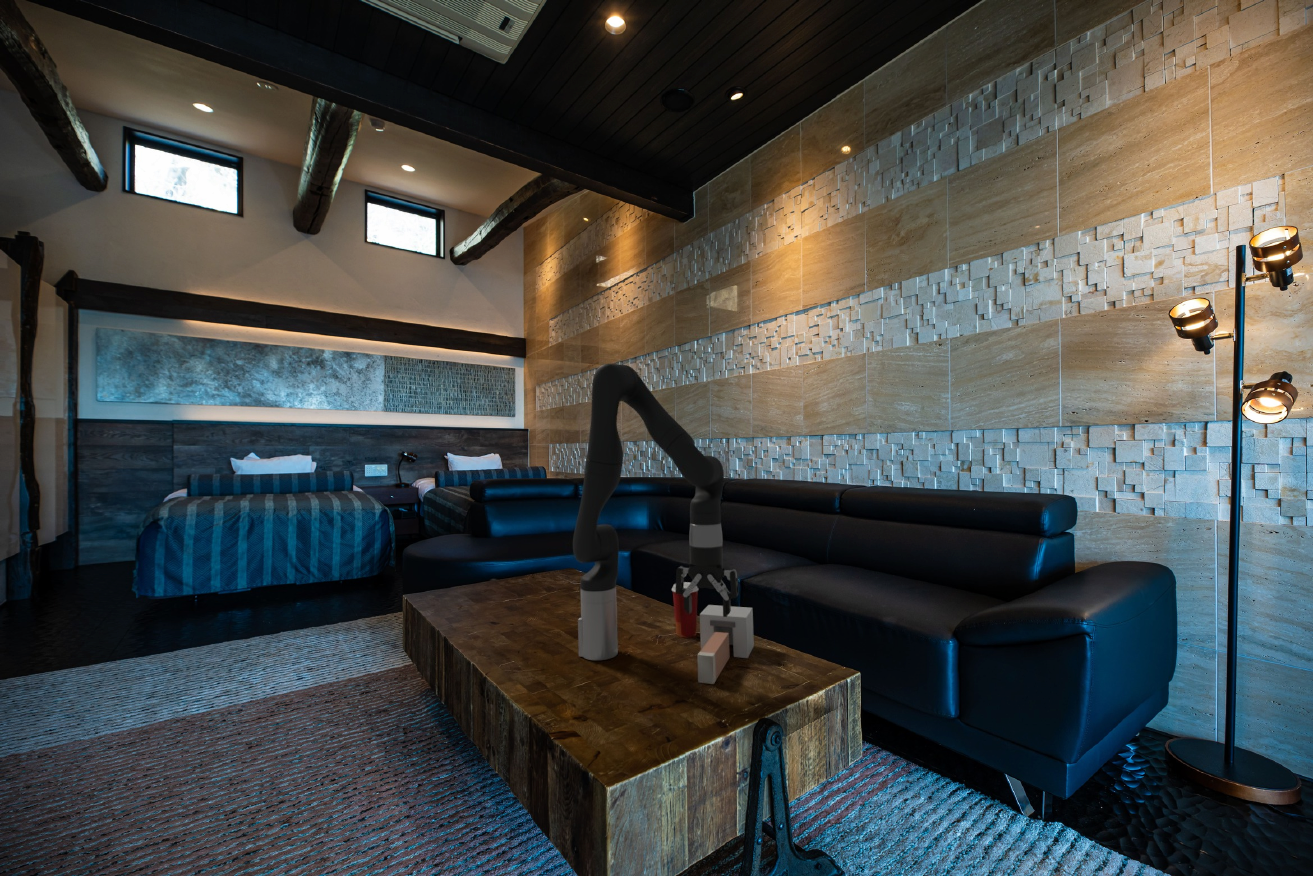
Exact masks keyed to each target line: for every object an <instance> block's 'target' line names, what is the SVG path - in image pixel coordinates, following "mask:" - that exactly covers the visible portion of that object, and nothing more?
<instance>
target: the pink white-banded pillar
mask: <svg viewBox="0 0 1313 876" xmlns="http://www.w3.org/2000/svg"><path fill="white" fill-rule="evenodd" d="M696 657H697V680H698V681H697V683H702V684H708V685H709V684H710V685H714V684H715V682H716V681H717V679H718V677H719V676H720V674H721V673H722V671H723V669H724V668H725V666H726V664H727V662H728V661H729V659H730V645H729V633H723V632H715V633H714V634H713V635H712V637H711V638H710V639H709V640H708V642H707V643H706V644H705V646H704V647H703V648H702V650H701V649H700V651H699V652H698V653H697V656H696Z"/></svg>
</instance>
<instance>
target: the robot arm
mask: <svg viewBox="0 0 1313 876" xmlns="http://www.w3.org/2000/svg"><path fill="white" fill-rule="evenodd" d="M592 378H593V379H592V383H591V384H592V385H591V412H590V413H591V414H590V416H591V417H590V427H589V438H588V445H587V451H586V459H585V468H584V473H583V474H584V478H583V486H582V492H581V499H580V503H579V504H580V505H579V509H578V515H577V517H576V518H577V519H576V523H575V527H574V531H573V532H574V533H573V538H572V552H573V555H574V558H575V559H576V561H577V562H579V563H581V564H589V563H594V565H593V567H592V568H591V569H590V570H589V571H587V572H586V573H585V574H583V575H582V576H581V577H580V583H579V584H580V617H579V618H578V619H577V630H578V631H577V632H578V635H577V636H578V657H582V658H584V659H586V660H589V661H606V660H609V659H612V658H615V657H616V656H617V655H618V653H619V651H618V649H619V647H618V646H619V644H618V609H617V608H618V606H617V579H618V575H619V553H620V552H619V551H620V550H619V549H620V545H619V536H618V533H617V531H616V529H615V528H614V526H612V525H611V524H606V523H605V524H598V522H599V518H600V515H601V512H602V510H603V508H604V506H605V505H606V503H607V502H608V500H609V499H610V498H611V496H612V495H613V493H614V492H615V490H616V489H617V487H618V486H619V483H620V480H621V476H622V470H623V469H622V468H623V461H624V450H623V444H622V442H621V438H620V436H619V431H618V422H617V421H618V412H619V408H620V402H623V403H625V404H626V405H628V406H629V407H631V409H633V410H634V411H635V412H636V413H637V414H638V415H639V417H640V418H641V420H642V422H643V423H644V425H645V427H646V430H647V432H648V434H649V435H650V437H651V439H652V440H653V441H654V443H656V445H657V446H658V447H659V448H660V449H661V450H662V451H663V452H664V453H665V454H666V455H667V456H668V457H669V458H671V460H672V462H673V464H674V465H675V467H676V468H677V470H678V471H679V472H680V474H681V475H682V477H683V478H684V479H685V480H686V481H687V482H688V483H689V484H691V485H692V486H694V487H695V493H694V497H693V498H692V499H691V500H690V506H689V519H690V520H689V521H690V522H689V534H688V535H689V567H685V566H683V565H680V566H678V567H677V568H676V570H675V571H676V573H675V584H676V593H677V594H681V595H682V596H683V597H684V610H685V611H686V613H688V614H690V613H691V612H692V595H690V594H691V592H692V591H693V590H694V588H695V587H696V586H697V588H698V589H704V588H705V589H709V590H713V589H715V590H716V591H717V592H718V594H720V596H721V597H722V606H723V617H727V616H728V615H729V613H730V611H731V606H732V605H731V604H732V603H731V600H732V599H737V597H738V596H739V594H740V591H739V590H740V589H739V580H738V579H739V577H738V570H737V569H736V568H733V569H730V570H729V569H727V570H726V569H725V568H724V562H723V561H724V559H723V557H724V556H723V554H724V553H723V542H724V541H723V540H724V538H723V530H722V521H721V520H722V514H721V509H722V508H721V500H722V496H723V488H724V481H725V480H724V479H725V475H724V474H725V473H724V467H723V465H722V463H721V460H719V459H718V458H717V457H715V456H712V455H704V454H703V453H702V451H700V450H699V449H698V448H697V447H696V445H695V444H696V442H695V439H694V438H693V437H692V436H691V434H690V433H688V431H686V430H685V428H683V427H682V426H681V425H680V423H679V422H677V421H676V419H674V417H672V416H671V414H669V412H668V411H667V410H666V409H665V408H664V407H663V406H662V405H661V403H660V402H659V401H658V399H656V397H655V396H654V394H653V392H651V390H650V388H648V386H647V384H646V383H645V382H644V380H643V379H642V378H641V376H640V375H639V374H638V372H637V371H636V370H635V369H634V368H633V367H631V366H629V365H626V364H618V363H617V364H616V363H604V364H602V365H600V366H598V368H597V369H596V371H595V373H594V374H593V377H592ZM687 574H688V576H689V577H690V578H691V580H692V581H691V582H690V585H689V586H688V588H687V589H685V588H684V582H685V578H686V576H687ZM725 576H726V578H727V580H728V581H729V582H730V591H729V590H728V588H727V586H726V584H725V583H724V581H723V578H724V577H725Z"/></svg>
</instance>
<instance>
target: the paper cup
mask: <svg viewBox="0 0 1313 876" xmlns="http://www.w3.org/2000/svg"><path fill="white" fill-rule="evenodd" d="M690 583H691V582H688V581H687V582H686V581H684V588H685V589H687V588H688V586H689V585H690ZM699 589H700V588H699V587H698V586H696V587H695V588H694V590H693V591H692V592H691V594H690V595H692V612H691V613H690V614H688V613H686V611H685V610H684V597H683V596H682V595H681V594H677V593H676V583H674V584H673V586H672V588H671V591H672V595H673V598H672V599H673V609H674V621H675V631H676V632H675V633H676V636H677V637H679V638H686V639H687V638H689V639H690V638H693V637H696V636H697V625H698V624H697V623H698V621H697V620H698V591H699Z"/></svg>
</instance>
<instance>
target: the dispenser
mask: <svg viewBox="0 0 1313 876" xmlns="http://www.w3.org/2000/svg"><path fill="white" fill-rule="evenodd" d="M753 612H754V611H753V607H746V606H745V607H742V606H732V605H731V611H730V613H729V615H728V616H727V617H723V605H714V604H708V605H707V606H706V607H705V608H704V609H703V610H702V611H701V612H700V613H699V630H700V631H699V635H700V638H699V639H700V651H701V650H702V648H703V647H704V646H705V644H706V643H707V642H708V640H709V639H710V638H711V637H712V635H713V634H714V633H715V632H723V633H729V646H733V657H734V658H743V659H749V656H750V654H751V652H752V650H753V649H754V647H755V643H754V641H755V639H754V616H753V615H754V614H753Z"/></svg>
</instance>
